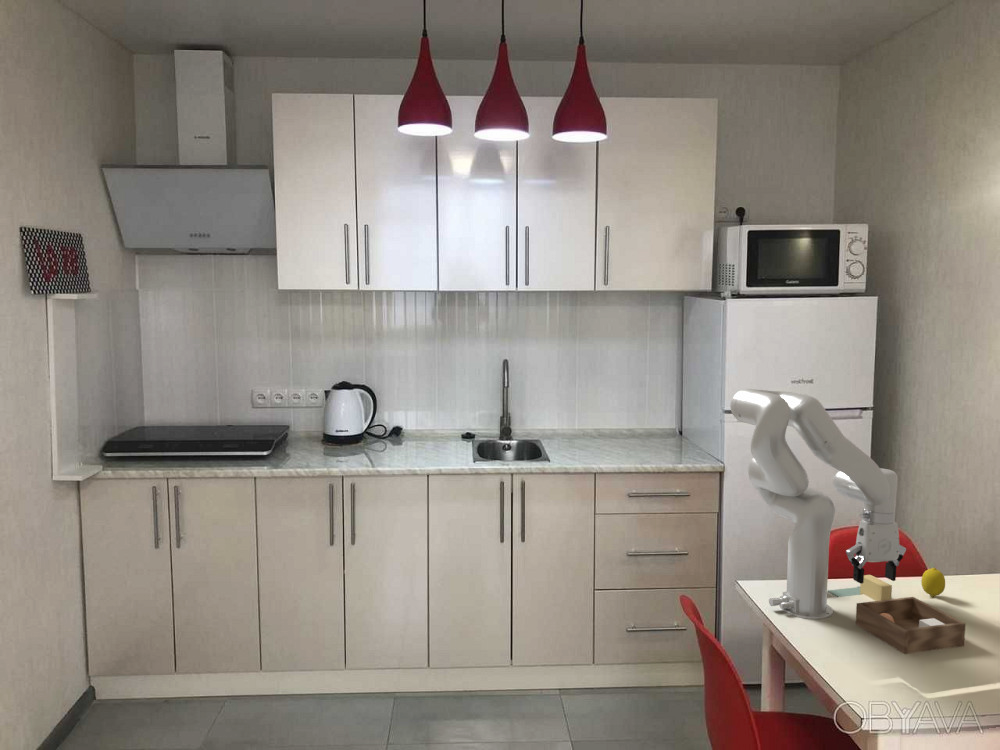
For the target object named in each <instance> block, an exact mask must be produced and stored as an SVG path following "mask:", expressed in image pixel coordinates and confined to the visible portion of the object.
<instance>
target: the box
mask: <svg viewBox="0 0 1000 750" xmlns="http://www.w3.org/2000/svg"><path fill="white" fill-rule="evenodd" d="M855 607H856V608H855V610H856V611H855V612H856V613H855V625H856V626H858V627H860V628H861V629H863V630H864V631H866V632H867V633H868V634H871V635H873V637H876V638H878V639H879V640H881V641H882V642H884V643H886V644H888V645H889V646H890V647H892V648H894V649H895V650H897V651H899V652H900V653H902V654H903V655H905V654H912V653H920V652H927V651H934V650H942V649H949V648H951V649H952V648H957V647H964V646H965V639H966V638H965V637H966V622H963V621H961V620H960V619H957V618H956V617H953V616H952V615H949V614H948V613H946V612H944V611H942V610H940V609H938V608H936V607H934V606H932V605H930V604H928V603H926V602H925V601H922V600H921V599H918V598H917V597H914V596H909V597H900V598H891V599H889V600H881V601H875V600H872V601H866V602H856V606H855ZM881 613H888V614H890V615H891V616H892V617H893V619H894V621H895V623H894V622H892V621H890V620H889V619H887V618H885V617H883V616H882V615H880V614H881ZM931 618H935V619H936V620H938V621H940V622H942V623H944V624H943V625H935V626H928V627H920V628H919V620H923V619H931Z"/></svg>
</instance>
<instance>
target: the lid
mask: <svg viewBox="0 0 1000 750" xmlns="http://www.w3.org/2000/svg"><path fill="white" fill-rule="evenodd" d="M859 584H860V583H859ZM892 589H893V586H892V584H889V583H888V582H886V581H884V580H882V579H881V578H878V577H876V576H873V575H871V574H866V575H865V574H864V582H863V583H862V584H860V586H857V587H855V586H854V587H849V588H848V587H846V588H837V589H827V593H830V594H832V595H833V596H834V597H836V598H844V597H852V596H861V595H864V596H866V597H868V598H870V599H872V601H881V600H889V599H892V592H893V590H892Z"/></svg>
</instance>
